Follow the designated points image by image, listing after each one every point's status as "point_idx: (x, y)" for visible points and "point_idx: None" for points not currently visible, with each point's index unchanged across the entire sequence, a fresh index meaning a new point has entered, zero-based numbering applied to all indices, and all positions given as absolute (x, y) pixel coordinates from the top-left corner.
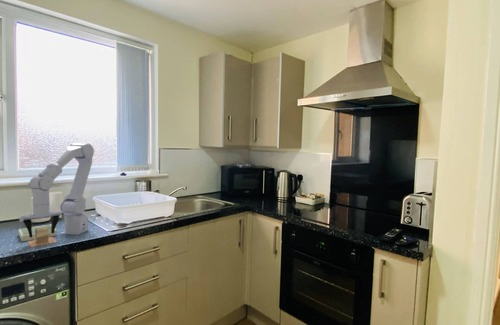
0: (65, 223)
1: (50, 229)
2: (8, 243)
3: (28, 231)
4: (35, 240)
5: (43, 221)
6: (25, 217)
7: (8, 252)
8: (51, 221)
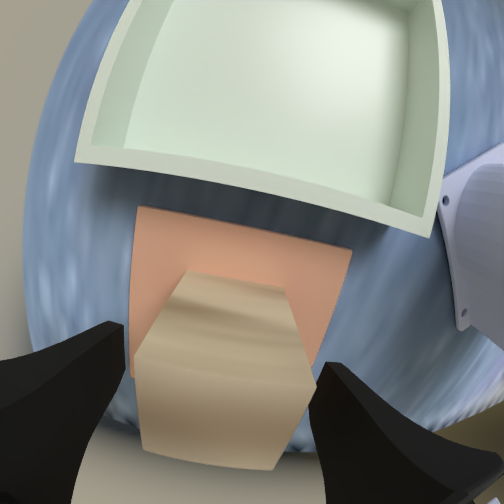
0: None
1: (410, 17)
2: (56, 114)
3: (69, 345)
4: (194, 241)
5: None
6: None
7: (41, 335)
8: (384, 472)
